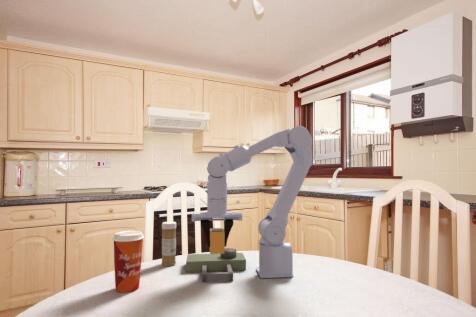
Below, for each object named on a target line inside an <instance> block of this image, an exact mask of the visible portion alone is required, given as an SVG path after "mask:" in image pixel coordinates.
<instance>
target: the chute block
mask: <svg viewBox="0 0 476 317" xmlns="http://www.w3.org/2000/svg"><path fill="white" fill-rule="evenodd" d="M225 248H226V247H225V232H224V227H217V228H216V227H213V228H210V247H209V254H225Z"/></svg>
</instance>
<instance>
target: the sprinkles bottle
mask: <svg viewBox="0 0 476 317" xmlns="http://www.w3.org/2000/svg"><path fill="white" fill-rule="evenodd" d="M161 229H162V234H161V235H162V236H161V265H162V266H164V267H171V266H174V265H176V263H177V262H176V253H177V234H176V233H177V232H176V229H177V221H172V220H171V221H163V222H162V223H161Z"/></svg>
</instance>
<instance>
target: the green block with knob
mask: <svg viewBox="0 0 476 317" xmlns="http://www.w3.org/2000/svg"><path fill="white" fill-rule="evenodd" d="M185 262H186V263H185V272H186V273H193V272H195V273H196V272H198V273H199V272H201V281H202V282H201V283H211V282H212V283H213V282H214V283H215V282H233V281H234V271H246V270H247V259H246V256H244V253H243V252H237V249H236V248H232V247H230V248H229V247H227V248H226V247H225V254H210V253H190V254H189V253H188V254H187V256H186V261H185Z"/></svg>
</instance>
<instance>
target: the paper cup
mask: <svg viewBox="0 0 476 317" xmlns="http://www.w3.org/2000/svg"><path fill="white" fill-rule="evenodd" d="M144 238H145V235H144V233H143V231H141V230H123V231H117V232H115V233H114V235H113V237H112V241H113V257H114V259H113V262H114V263H113V264H114V282H115V283H114V284H115V292H117V293H119V294H127V293H128V294H129V293H132V292H135V291H137V290H138V289H139V288H140V279H141V269H142V268H141V267H142V256H143V255H142V254H143V243H144Z"/></svg>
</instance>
